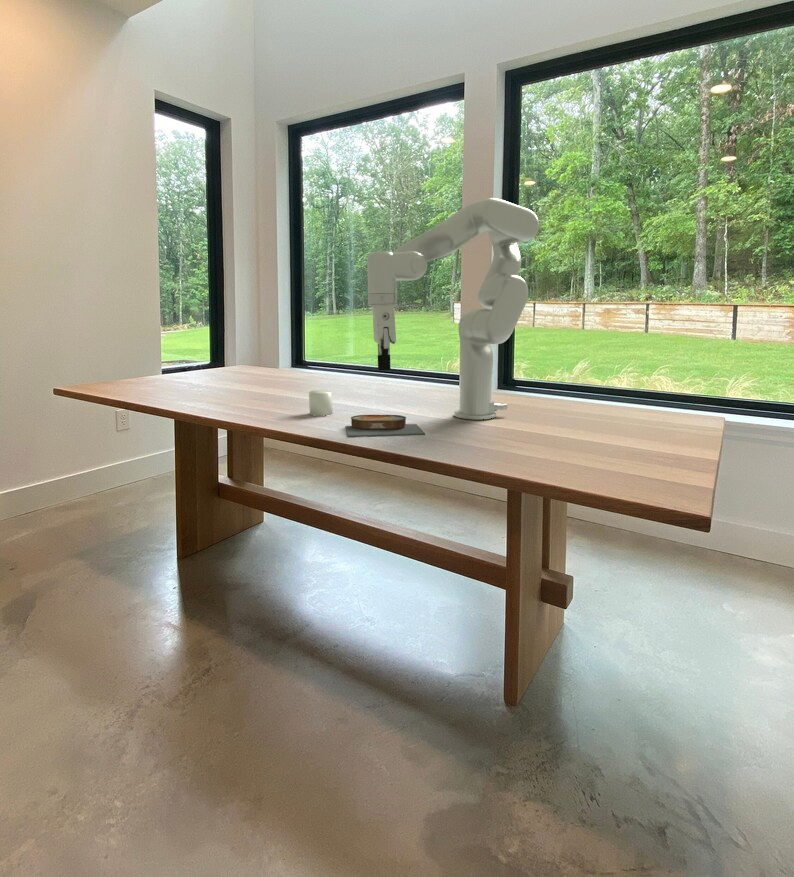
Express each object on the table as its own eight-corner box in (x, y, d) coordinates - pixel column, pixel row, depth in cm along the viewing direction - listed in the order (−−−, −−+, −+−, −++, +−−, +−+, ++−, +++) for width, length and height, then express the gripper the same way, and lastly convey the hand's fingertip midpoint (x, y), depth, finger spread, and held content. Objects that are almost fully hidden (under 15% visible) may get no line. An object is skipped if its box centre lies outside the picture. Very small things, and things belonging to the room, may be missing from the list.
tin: (406, 414, 165) (405, 418, 157) (406, 426, 166) (405, 430, 157) (352, 414, 166) (349, 417, 157) (352, 425, 166) (349, 429, 158)
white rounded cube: (332, 412, 185) (331, 389, 184) (333, 416, 179) (332, 393, 177) (309, 412, 184) (308, 390, 183) (309, 416, 178) (309, 393, 176)
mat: (416, 425, 166) (416, 423, 166) (424, 434, 154) (425, 433, 154) (345, 427, 163) (345, 425, 163) (348, 437, 151) (348, 435, 151)
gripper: (401, 300, 149) (402, 372, 154) (392, 300, 164) (393, 366, 168) (372, 301, 148) (374, 374, 153) (365, 300, 163) (367, 367, 167)
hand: (384, 369), depth 160 cm, fingers closed
